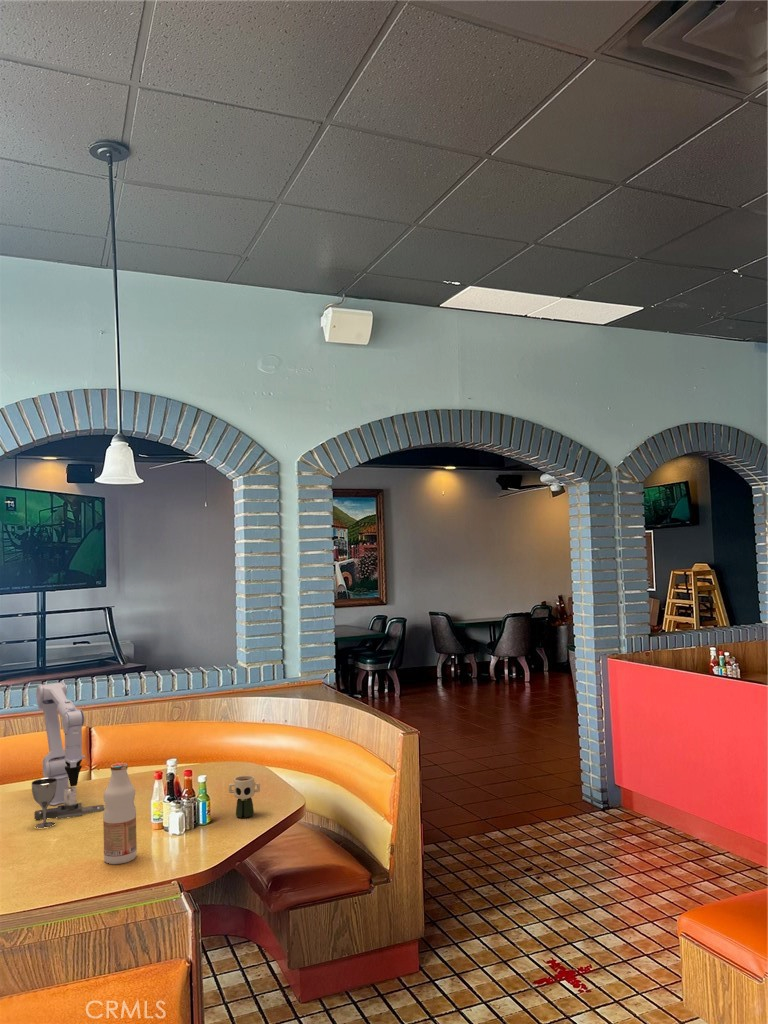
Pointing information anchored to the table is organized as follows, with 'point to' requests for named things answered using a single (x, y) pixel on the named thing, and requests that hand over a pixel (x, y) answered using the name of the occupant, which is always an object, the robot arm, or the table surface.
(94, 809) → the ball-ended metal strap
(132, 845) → the fruit juice
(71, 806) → the steel pin
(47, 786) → the wine glass
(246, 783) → the character mug
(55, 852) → the table surface
